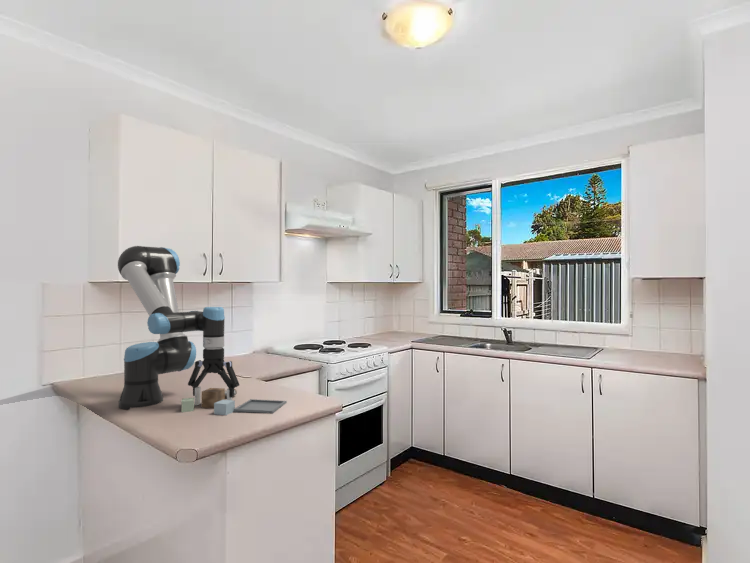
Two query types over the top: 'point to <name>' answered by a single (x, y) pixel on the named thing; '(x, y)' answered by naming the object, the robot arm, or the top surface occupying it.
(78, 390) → the top surface
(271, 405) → the tray
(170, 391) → the top surface
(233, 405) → the block bluegrey
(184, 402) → the block sage
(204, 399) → the block walnut
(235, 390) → the stone
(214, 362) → the robot arm
